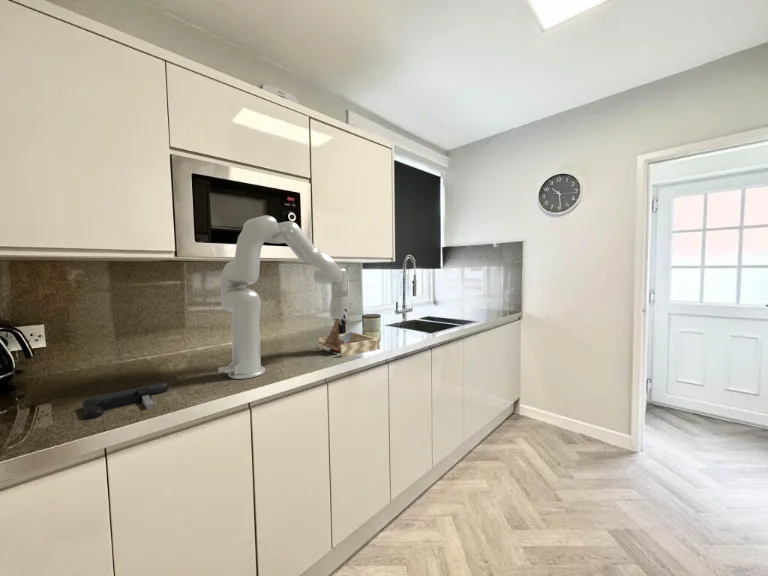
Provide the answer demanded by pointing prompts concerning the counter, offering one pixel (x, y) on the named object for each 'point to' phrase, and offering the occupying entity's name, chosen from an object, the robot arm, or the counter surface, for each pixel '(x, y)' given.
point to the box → (356, 344)
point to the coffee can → (371, 325)
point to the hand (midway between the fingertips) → (340, 332)
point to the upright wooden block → (334, 338)
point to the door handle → (122, 399)
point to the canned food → (346, 339)
